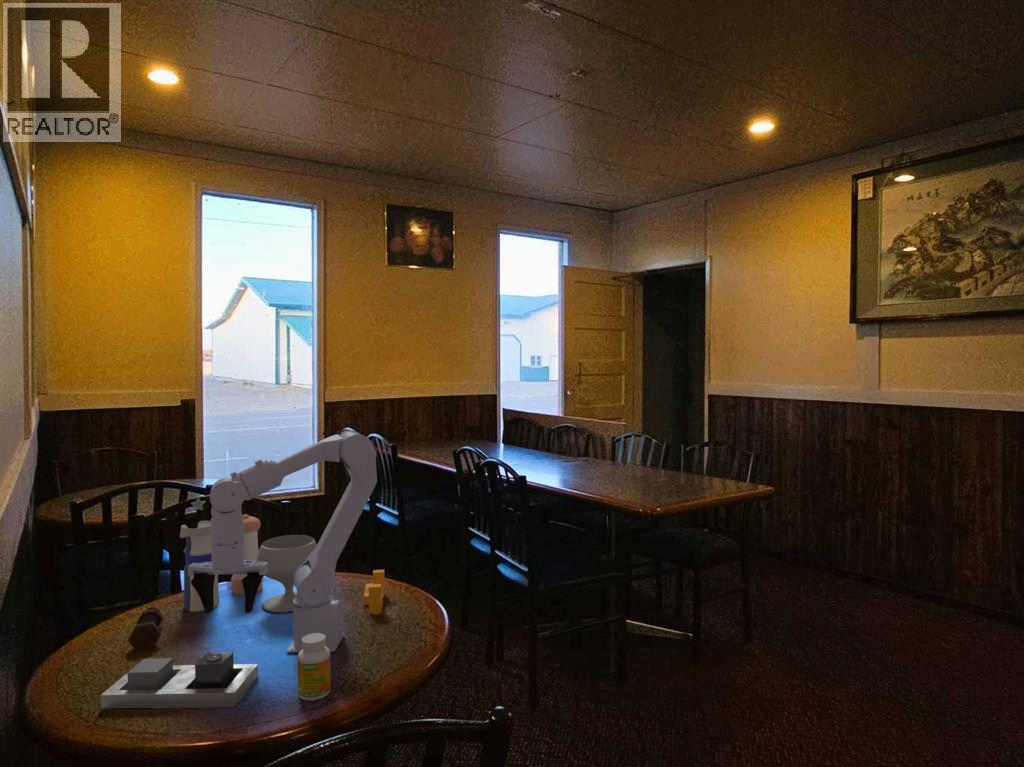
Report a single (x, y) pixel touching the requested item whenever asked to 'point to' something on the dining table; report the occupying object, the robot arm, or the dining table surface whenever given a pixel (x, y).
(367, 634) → the dining table surface
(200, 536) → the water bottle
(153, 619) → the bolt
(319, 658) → the supplement bottle
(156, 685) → the slate block
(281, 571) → the chalice
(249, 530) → the salt shaker
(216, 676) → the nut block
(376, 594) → the pipe clamp
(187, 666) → the tray
